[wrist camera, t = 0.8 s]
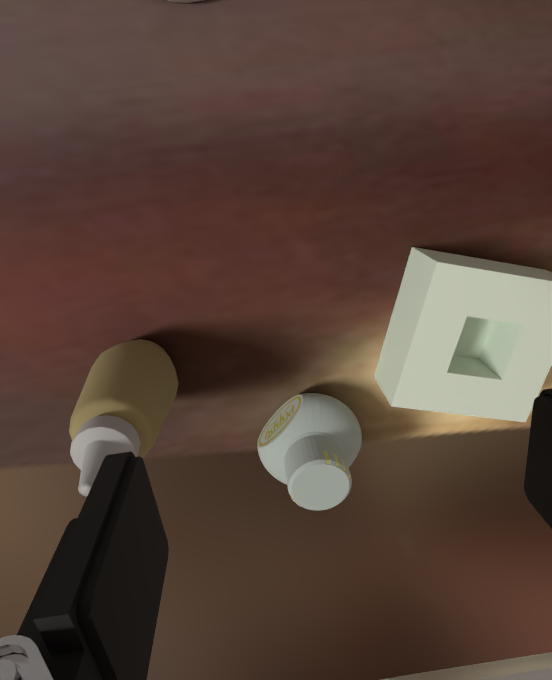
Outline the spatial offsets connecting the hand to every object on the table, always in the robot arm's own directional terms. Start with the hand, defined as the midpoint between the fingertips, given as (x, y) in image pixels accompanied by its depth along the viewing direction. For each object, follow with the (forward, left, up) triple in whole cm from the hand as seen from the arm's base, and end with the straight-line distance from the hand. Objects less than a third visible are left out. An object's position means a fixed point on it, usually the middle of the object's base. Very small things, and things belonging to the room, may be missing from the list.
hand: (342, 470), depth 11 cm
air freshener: (+20, +8, -34) cm, 40 cm away
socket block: (+6, +21, -33) cm, 40 cm away
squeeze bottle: (+15, -10, -34) cm, 38 cm away
